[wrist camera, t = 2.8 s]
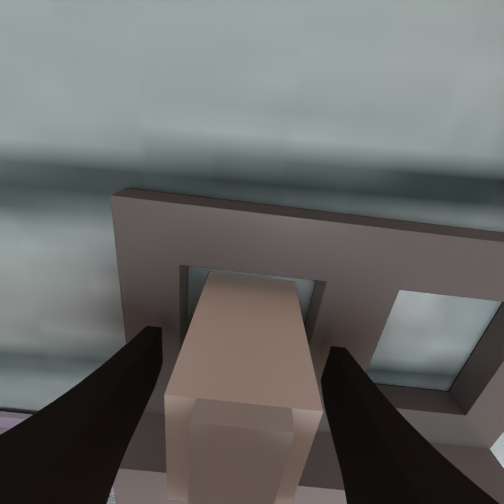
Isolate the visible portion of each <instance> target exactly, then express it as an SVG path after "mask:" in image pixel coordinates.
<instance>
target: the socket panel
mask: <svg viewBox="0 0 504 504" xmlns="http://www.w3.org/2000/svg"><path fill="white" fill-rule="evenodd" d="M110 198H111V207H112V216H113V225H114V234H115V244H116V253H117V262H118V271H119V280H120V289H121V299H122V308H123V317H124V326H125V335H126V344H127V343H128V342H129V341H130V340H131V339H133V338H134V337H135V336H136V335H137V334H138V333H139V332H140V331H141V330H142V329H144V328H145V327H146V326H155V327H162V350H163V364H162V368H161V371H160V374H159V377H158V380H157V383H156V386H155V388H154V390H153V393H152V395H151V397H150V399H149V401H148V404H147V406H146V408H145V410H144V412H143V415H142V417H141V419H140V421H139V423H138V425H137V427H136V430H135V432H134V434H133V436H132V438H131V440H130V443H129V445H128V447H127V450H126V452H125V454H124V457H123V459H122V462H121V465H120V467H119V470H118V473H117V475H116V478H115V481H114V484H113V489H114V495H115V500H116V504H188V501H179V500H169V499H168V498H167V467H166V435H165V404H164V394H165V391H166V388H167V386H168V383H169V380H170V378H171V375H172V372H173V369H174V367H175V364H176V361H177V359H178V356H179V353H180V350H181V348H182V345H183V342H184V340H185V337H186V334H187V293H188V266H196V267H204V268H213V269H222V270H231V271H239V272H248V273H257V274H266V275H275V276H283V277H292V278H301V279H310V280H316V283H315V287H314V291H313V295H312V299H311V303H310V307H309V311H308V315H307V319H306V323H305V327H304V328H305V332H306V337H307V341H308V346H309V350H310V355H311V359H312V363H313V368H314V372H315V377H316V381H317V386H318V390H319V395H320V399H321V403H322V408H323V414H322V417H321V420H320V423H319V425H318V428H317V431H316V434H315V437H314V440H313V443H312V446H311V449H310V452H309V455H308V458H307V460H306V463H305V466H304V469H303V472H302V475H301V478H300V481H299V484H298V487H297V490H296V493H295V495H294V498H293V501H292V504H347V501H346V495H345V490H344V484H343V479H342V474H341V470H340V466H339V462H338V458H337V454H336V450H335V446H334V442H333V439H332V435H331V431H330V427H329V423H328V419H327V415H326V411H325V407H324V402H323V395H322V387H321V377H322V374H323V371H324V367H325V364H326V361H327V358H328V355H329V352H330V348H331V346H336V347H345V348H346V349H347V350H348V351H349V353H350V354H351V355H352V356H353V358H354V359H355V360H356V361H357V363H358V364H359V365H360V366H361V368H362V369H363V370H364V372H365V373H366V371H367V368H368V366H369V363H370V361H371V358H372V356H373V353H374V351H375V348H376V346H377V343H378V341H379V339H380V336H381V334H382V331H383V329H384V326H385V324H386V321H387V319H388V316H389V314H390V311H391V309H392V307H393V304H394V302H395V299H396V297H397V294H398V292H399V290H406V291H415V292H424V293H432V294H441V295H450V296H459V297H468V298H476V299H485V300H494V301H503V304H502V306H501V307H500V309H499V310H498V312H497V314H496V315H495V317H494V319H493V320H492V322H491V323H490V325H489V327H488V328H487V330H486V332H485V333H484V335H483V337H482V338H481V340H480V341H479V343H478V345H477V346H476V348H475V350H474V351H473V353H472V354H471V356H470V358H469V359H468V361H467V363H466V364H465V366H464V368H463V369H462V371H461V372H460V374H459V376H458V377H457V379H456V381H455V382H454V384H453V385H452V387H451V389H450V390H449V392H446V391H437V390H428V389H418V388H409V387H399V386H390V385H380V384H375V385H376V386H377V387H378V389H379V390H380V391H381V392H382V393H383V395H384V396H385V397H386V398H387V399H388V400H389V401H390V403H391V404H392V405H393V406H394V407H395V408H396V409H397V410H398V411H399V412H400V414H401V415H402V416H403V417H404V418H405V419H406V420H407V421H408V422H409V423H410V424H411V425H412V426H413V427H414V428H415V429H416V430H417V431H418V432H419V433H420V434H421V435H422V436H423V437H424V438H425V439H426V440H427V441H428V442H429V443H430V444H431V445H432V446H433V447H434V448H435V449H436V450H437V451H439V452H440V453H441V454H442V455H443V456H444V457H445V458H446V459H447V460H448V461H450V462H451V463H452V464H453V465H454V466H455V467H456V468H458V469H459V470H460V471H461V472H462V473H463V474H464V475H465V476H467V477H468V478H469V479H470V480H471V481H473V482H474V483H475V484H476V485H477V486H479V487H480V488H481V489H482V490H483V491H485V492H486V493H487V494H488V495H490V496H491V497H492V498H493V499H495V500H496V501H497V502H498V503H500V504H504V468H503V467H502V466H501V464H500V463H499V461H498V460H497V459H496V457H495V456H494V454H493V453H492V452H491V450H490V448H491V446H492V445H493V444H494V443H495V442H496V440H497V439H498V438H499V437H500V435H501V434H502V433H503V432H504V233H500V232H491V231H483V230H475V229H466V228H458V227H450V226H441V225H433V224H424V223H416V222H408V221H399V220H391V219H383V218H374V217H366V216H357V215H349V214H341V213H332V212H324V211H316V210H307V209H299V208H291V207H282V206H274V205H265V204H257V203H249V202H240V201H232V200H224V199H215V198H207V197H199V196H190V195H182V194H173V193H165V192H157V191H148V190H140V189H132V188H127V189H125V190H122V191H120V192H117V193H115V194H113V195H110Z"/></svg>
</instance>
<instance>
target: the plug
mask: <svg viewBox="0 0 504 504" xmlns="http://www.w3.org/2000/svg"><path fill="white" fill-rule="evenodd" d="M164 404H165V435H166V467H167V498H168V499H169V500H179V501H188V504H292V501H293V498H294V495H295V493H296V490H297V487H298V484H299V481H300V478H301V475H302V472H303V469H304V466H305V463H306V460H307V458H308V455H309V452H310V449H311V446H312V443H313V440H314V437H315V434H316V431H317V428H318V425H319V423H320V420H321V417H322V414H323V408H322V403H321V399H320V395H319V390H318V386H317V381H316V377H315V372H314V368H313V363H312V359H311V355H310V350H309V346H308V341H307V337H306V332H305V328H304V323H303V319H302V315H301V310H300V306H299V301H298V297H297V292H296V288H295V283H294V281H285V280H276V279H268V278H259V277H250V276H242V275H233V274H224V273H216V272H209V275H208V277H207V280H206V283H205V285H204V288H203V291H202V294H201V296H200V299H199V302H198V304H197V307H196V310H195V312H194V315H193V318H192V321H191V323H190V326H189V329H188V331H187V334H186V337H185V340H184V342H183V345H182V348H181V350H180V353H179V356H178V359H177V361H176V364H175V367H174V369H173V372H172V375H171V378H170V380H169V383H168V386H167V388H166V391H165V394H164Z"/></svg>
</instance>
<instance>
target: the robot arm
mask: <svg viewBox="0 0 504 504" xmlns="http://www.w3.org/2000/svg"><path fill="white" fill-rule="evenodd" d="M162 364H163V350H162V327H155V326H146V327H145V328H144V329H142V330H141V331H140V332H139V333H138V334H137V335H136V336H135V337H134V338H133V339H131V340H130V341H129V342H128V343H127V344H126V345H125V346H124V347H123V348H121V349H120V350H119V351H118V352H117V353H116V354H115V355H113V356H112V357H111V358H110V359H109V360H108V361H106V362H105V363H104V364H103V365H102V366H100V367H99V368H98V369H97V370H95V371H94V372H93V373H91V374H90V375H89V376H88V377H86V378H85V379H84V380H83V381H81V382H80V383H79V384H77V385H76V386H75V387H73V388H72V389H71V390H69V391H68V392H66V393H65V394H64V395H62V396H61V397H59V398H58V399H56V400H55V401H53V402H52V403H50V404H49V405H47V406H46V407H44V408H43V409H41V410H40V411H38V412H37V413H35V414H24V413H14V412H5V411H0V504H106V503H107V500H108V498H109V495H110V494H111V495H114V489H113V484H114V481H115V478H116V475H117V473H118V470H119V467H120V465H121V462H122V459H123V457H124V454H125V452H126V450H127V447H128V445H129V443H130V440H131V438H132V436H133V434H134V432H135V430H136V427H137V425H138V423H139V421H140V419H141V417H142V415H143V412H144V410H145V408H146V406H147V404H148V401H149V399H150V397H151V395H152V393H153V390H154V388H155V386H156V383H157V380H158V377H159V374H160V371H161V368H162ZM321 387H322V395H323V402H324V407H325V411H326V415H327V419H328V423H329V427H330V431H331V435H332V439H333V442H334V446H335V450H336V454H337V458H338V462H339V466H340V470H341V474H342V479H343V484H344V490H345V495H346V501H347V504H500V503H498V502H497V501H496V500H495V499H493V498H492V497H491V496H490V495H488V494H487V493H486V492H485V491H483V490H482V489H481V488H480V487H479V486H477V485H476V484H475V483H474V482H473V481H471V480H470V479H469V478H468V477H467V476H465V475H464V474H463V473H462V472H461V471H460V470H459V469H458V468H456V467H455V466H454V465H453V464H452V463H451V462H450V461H448V460H447V459H446V458H445V457H444V456H443V455H442V454H441V453H440V452H439V451H437V450H436V449H435V448H434V447H433V446H432V445H431V444H430V443H429V442H428V441H427V440H426V439H425V438H424V437H423V436H422V435H421V434H420V433H419V432H418V431H417V430H416V429H415V428H414V427H413V426H412V425H411V424H410V423H409V422H408V421H407V420H406V419H405V418H404V417H403V416H402V415H401V414H400V412H399V411H398V410H397V409H396V408H395V407H394V406H393V405H392V404H391V403H390V401H389V400H388V399H387V398H386V397H385V396H384V395H383V393H382V392H381V391H380V390H379V389H378V387H377V386H376V385H375V384H374V383H373V381H372V380H371V379H370V378H369V377H368V375H367V374H366V373H365V372H364V370H363V369H362V368H361V366H360V365H359V364H358V363H357V361H356V360H355V359H354V358H353V356H352V355H351V354H350V353H349V351H348V350H347V349H346V348H345V347H336V346H331V348H330V352H329V355H328V358H327V361H326V364H325V367H324V371H323V374H322V377H321Z"/></svg>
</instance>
